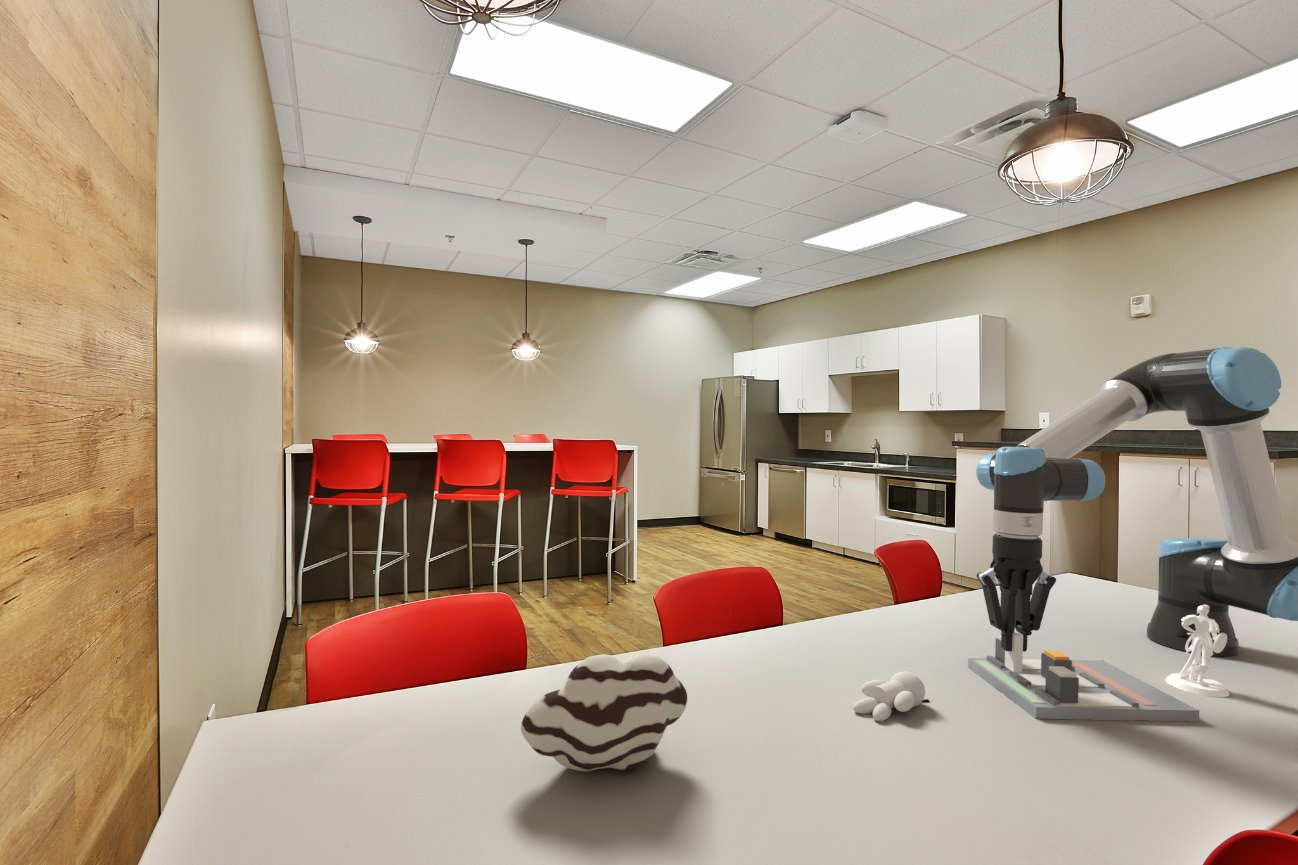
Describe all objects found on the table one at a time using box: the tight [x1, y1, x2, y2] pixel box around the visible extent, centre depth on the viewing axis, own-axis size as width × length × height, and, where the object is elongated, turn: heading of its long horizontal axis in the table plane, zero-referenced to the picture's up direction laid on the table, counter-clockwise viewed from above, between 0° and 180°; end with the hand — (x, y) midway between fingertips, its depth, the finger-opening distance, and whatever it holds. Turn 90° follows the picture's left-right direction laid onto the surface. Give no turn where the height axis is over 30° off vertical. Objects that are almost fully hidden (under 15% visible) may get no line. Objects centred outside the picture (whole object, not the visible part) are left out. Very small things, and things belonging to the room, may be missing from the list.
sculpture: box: [520, 653, 688, 772], centre depth 82 cm, size 22×12×15 cm, turn 106°
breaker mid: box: [1040, 649, 1072, 678], centre depth 110 cm, size 3×4×5 cm
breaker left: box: [994, 635, 1005, 664], centre depth 117 cm, size 3×4×5 cm
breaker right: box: [1045, 666, 1079, 703], centre depth 102 cm, size 3×4×5 cm
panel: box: [967, 655, 1200, 723], centre depth 110 cm, size 26×21×2 cm
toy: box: [852, 670, 930, 722], centre depth 102 cm, size 8×6×15 cm
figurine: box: [1165, 605, 1231, 698], centre depth 114 cm, size 9×9×15 cm
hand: (1013, 668), depth 110 cm, fingers closed
